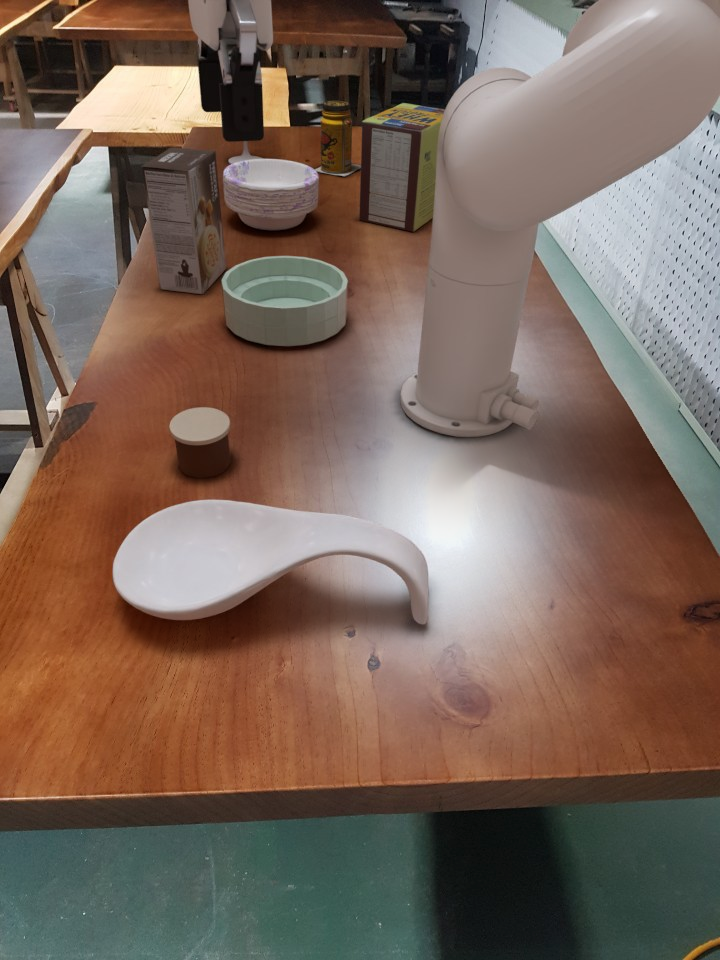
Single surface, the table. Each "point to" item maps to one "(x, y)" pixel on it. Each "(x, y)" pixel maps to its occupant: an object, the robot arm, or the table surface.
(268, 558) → the spoon rest
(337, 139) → the condiment
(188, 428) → the coffee pod
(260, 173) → the paper bowls
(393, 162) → the protein box
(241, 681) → the table surface
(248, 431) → the table surface
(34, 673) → the table surface
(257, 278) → the bowl
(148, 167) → the coffee box
